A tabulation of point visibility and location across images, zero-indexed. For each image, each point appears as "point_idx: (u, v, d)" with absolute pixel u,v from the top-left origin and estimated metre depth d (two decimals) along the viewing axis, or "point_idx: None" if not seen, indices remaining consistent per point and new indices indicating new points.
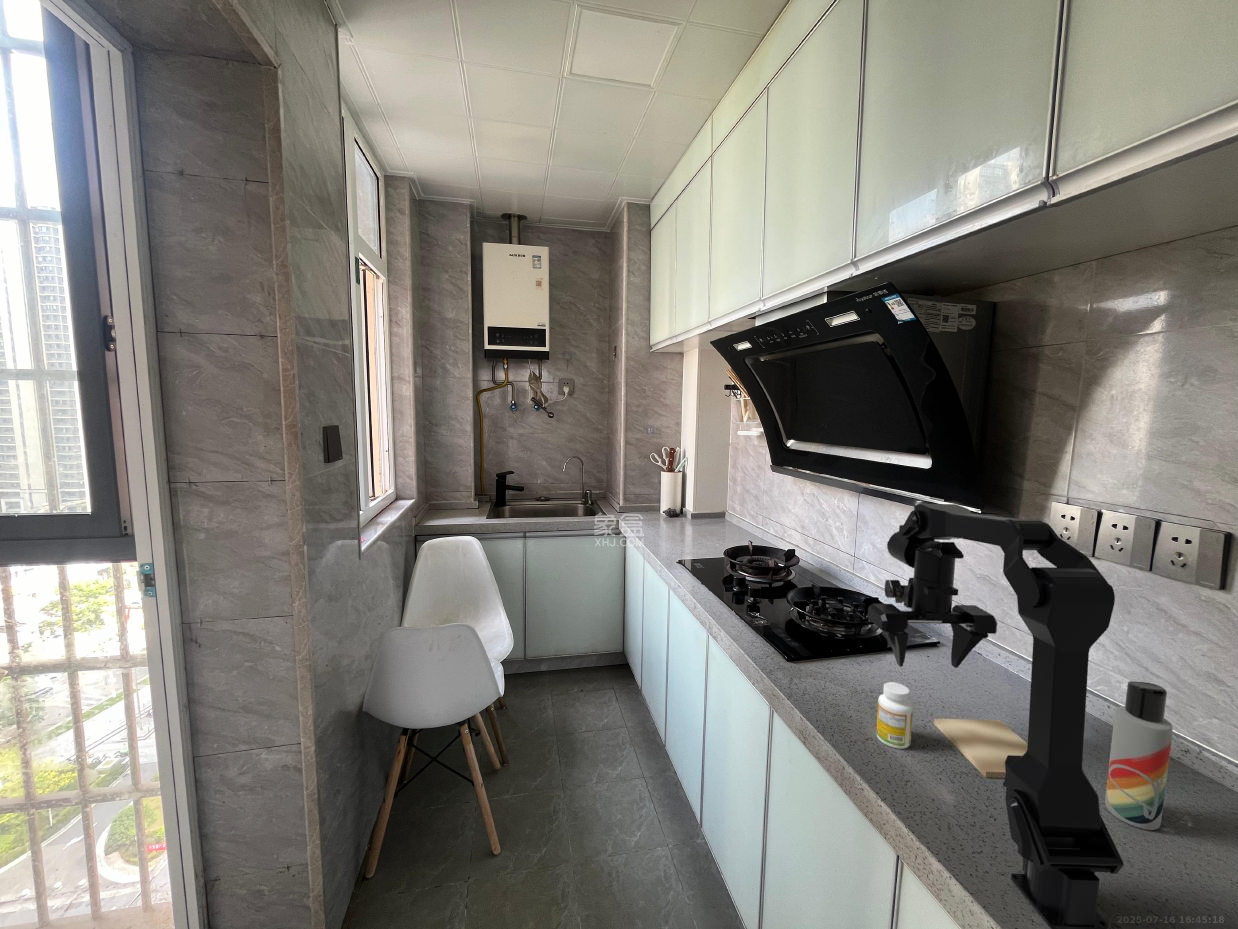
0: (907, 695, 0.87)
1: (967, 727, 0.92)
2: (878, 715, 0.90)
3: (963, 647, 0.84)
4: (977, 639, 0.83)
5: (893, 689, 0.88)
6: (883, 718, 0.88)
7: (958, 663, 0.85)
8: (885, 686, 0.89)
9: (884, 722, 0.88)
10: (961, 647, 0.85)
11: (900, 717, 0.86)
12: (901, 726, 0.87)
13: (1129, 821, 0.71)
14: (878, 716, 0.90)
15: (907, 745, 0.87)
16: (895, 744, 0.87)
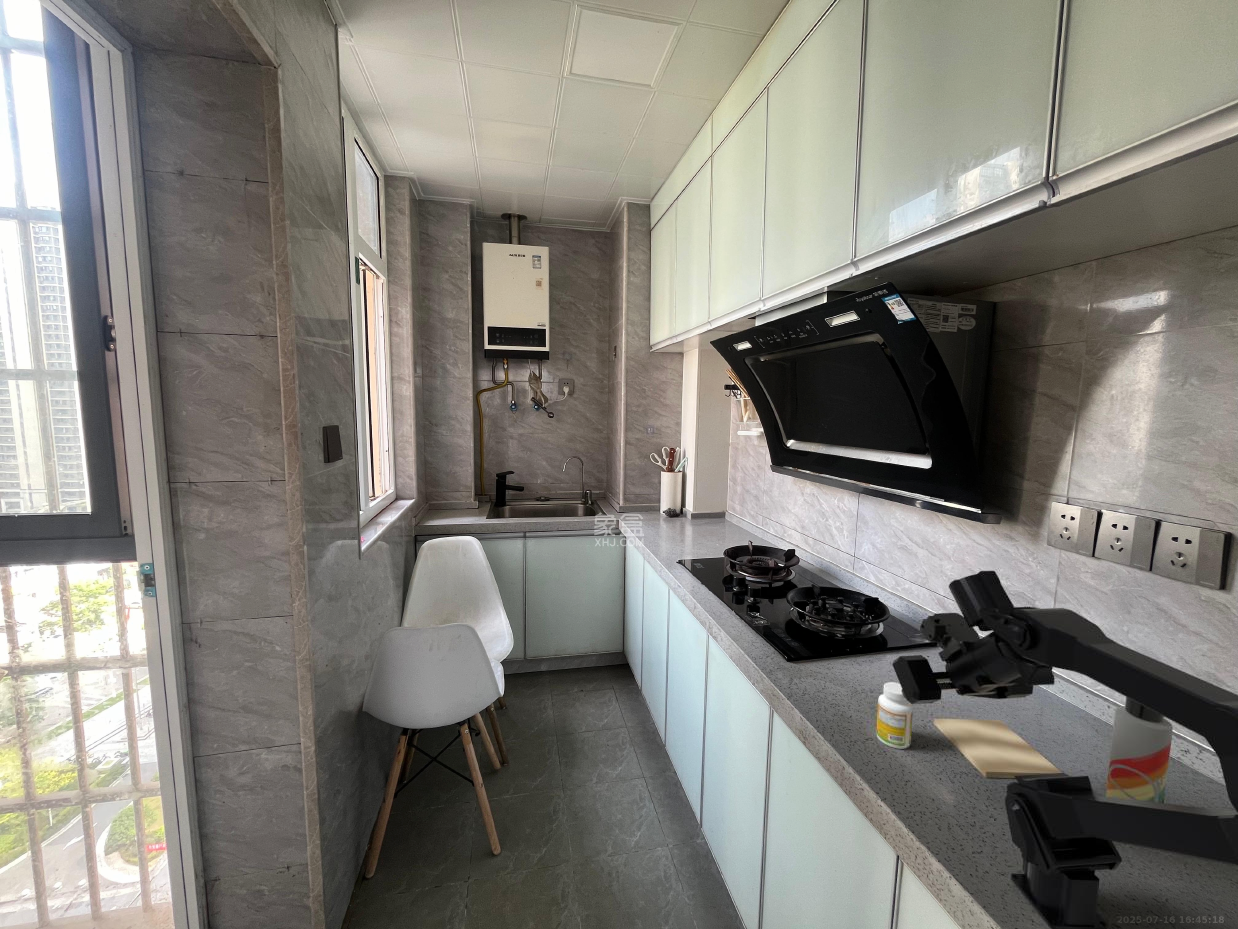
0: None
1: (967, 727, 0.92)
2: (878, 715, 0.90)
3: (980, 694, 0.77)
4: None
5: (893, 689, 0.88)
6: (883, 718, 0.88)
7: None
8: (885, 686, 0.89)
9: (884, 722, 0.88)
10: None
11: (900, 717, 0.86)
12: (901, 726, 0.87)
13: None
14: (878, 716, 0.90)
15: (907, 745, 0.87)
16: (895, 744, 0.87)
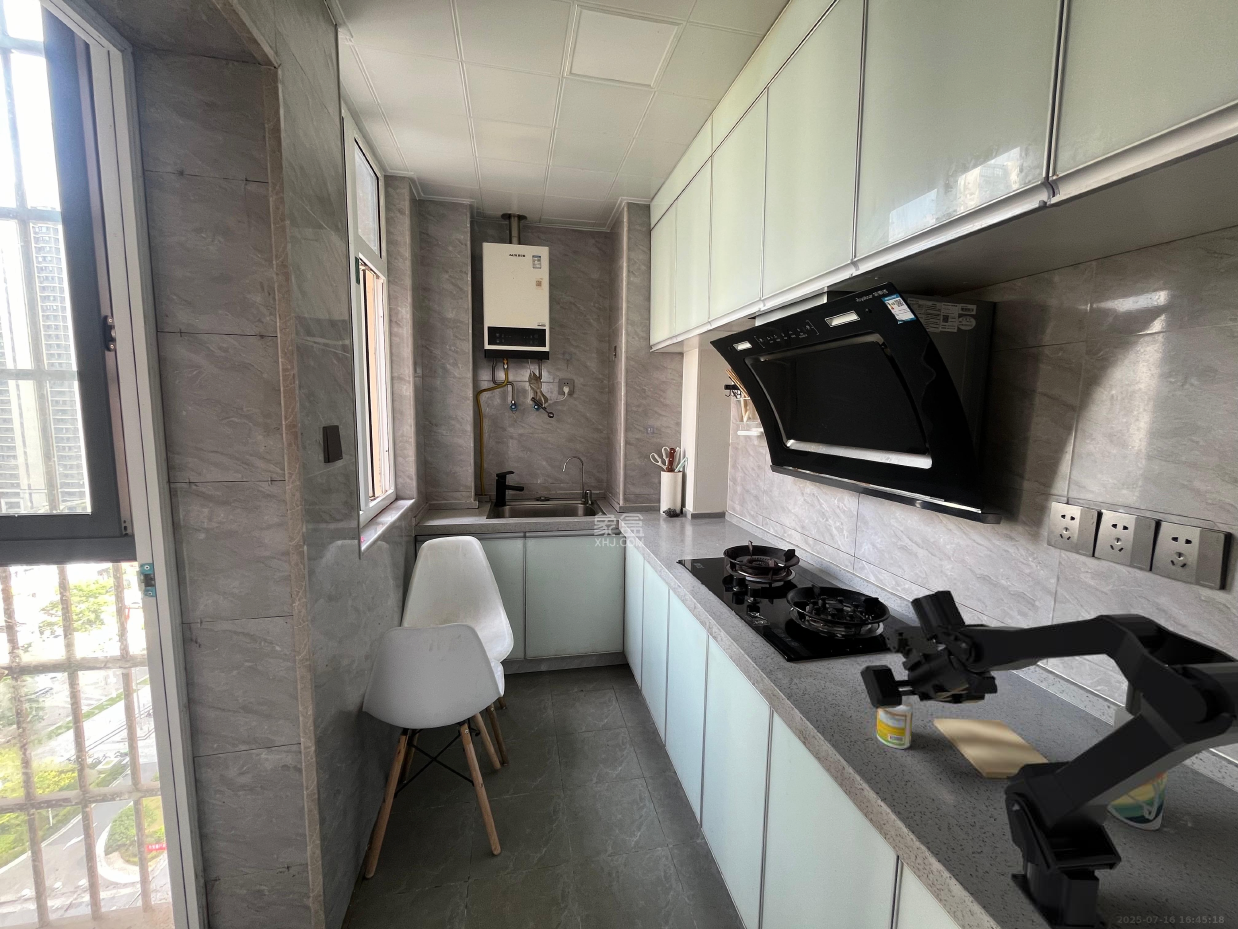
0: None
1: (967, 727, 0.92)
2: (878, 715, 0.90)
3: (939, 699, 0.85)
4: None
5: None
6: (883, 718, 0.88)
7: None
8: None
9: (884, 722, 0.88)
10: None
11: (900, 717, 0.86)
12: (901, 726, 0.87)
13: (1129, 821, 0.71)
14: (878, 716, 0.90)
15: (907, 745, 0.87)
16: (895, 744, 0.87)
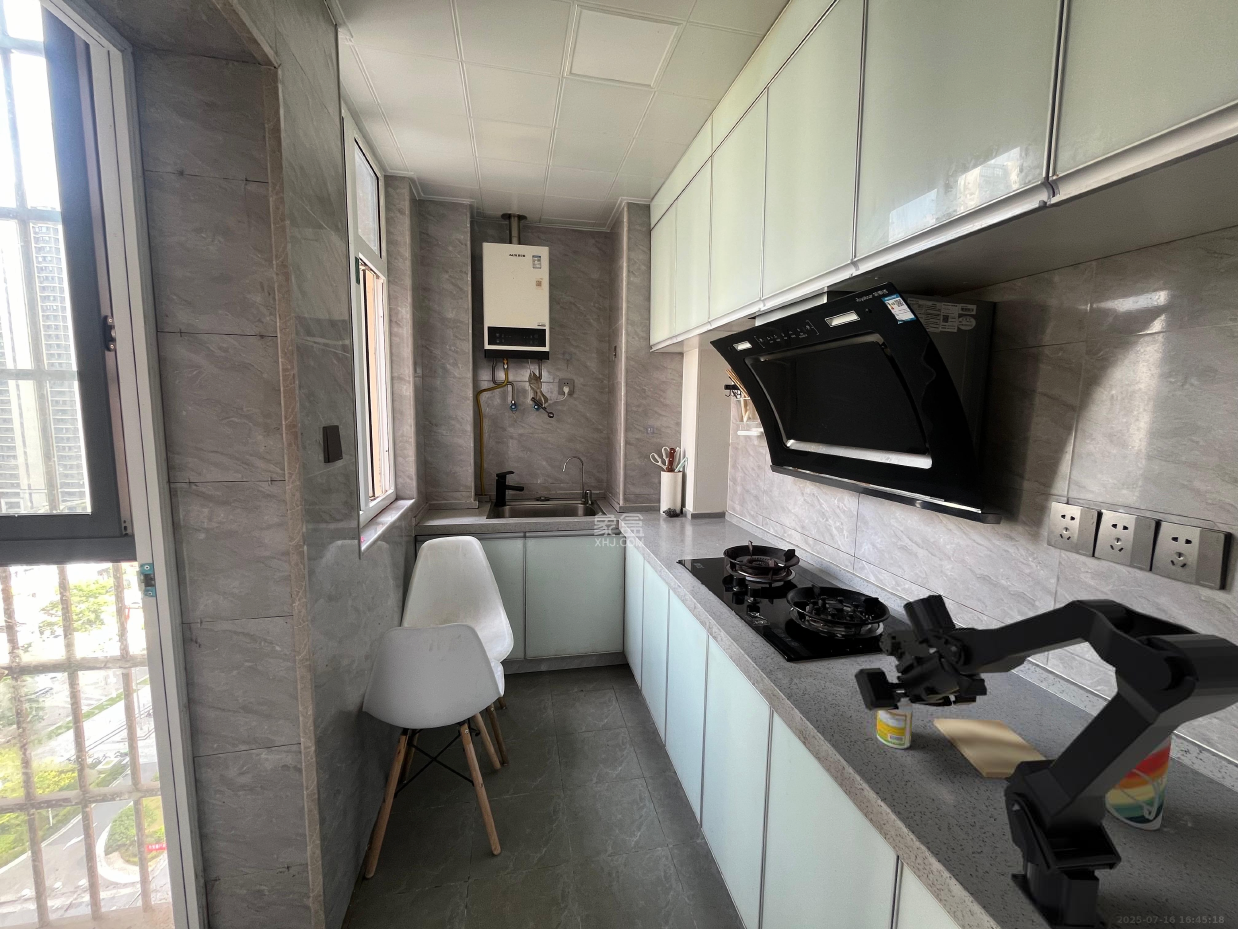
0: None
1: (967, 727, 0.92)
2: (878, 715, 0.90)
3: (922, 702, 0.86)
4: None
5: None
6: (883, 718, 0.88)
7: None
8: None
9: (884, 722, 0.88)
10: None
11: (900, 716, 0.86)
12: (901, 726, 0.87)
13: (1129, 821, 0.71)
14: (878, 716, 0.90)
15: (907, 745, 0.87)
16: (895, 744, 0.87)
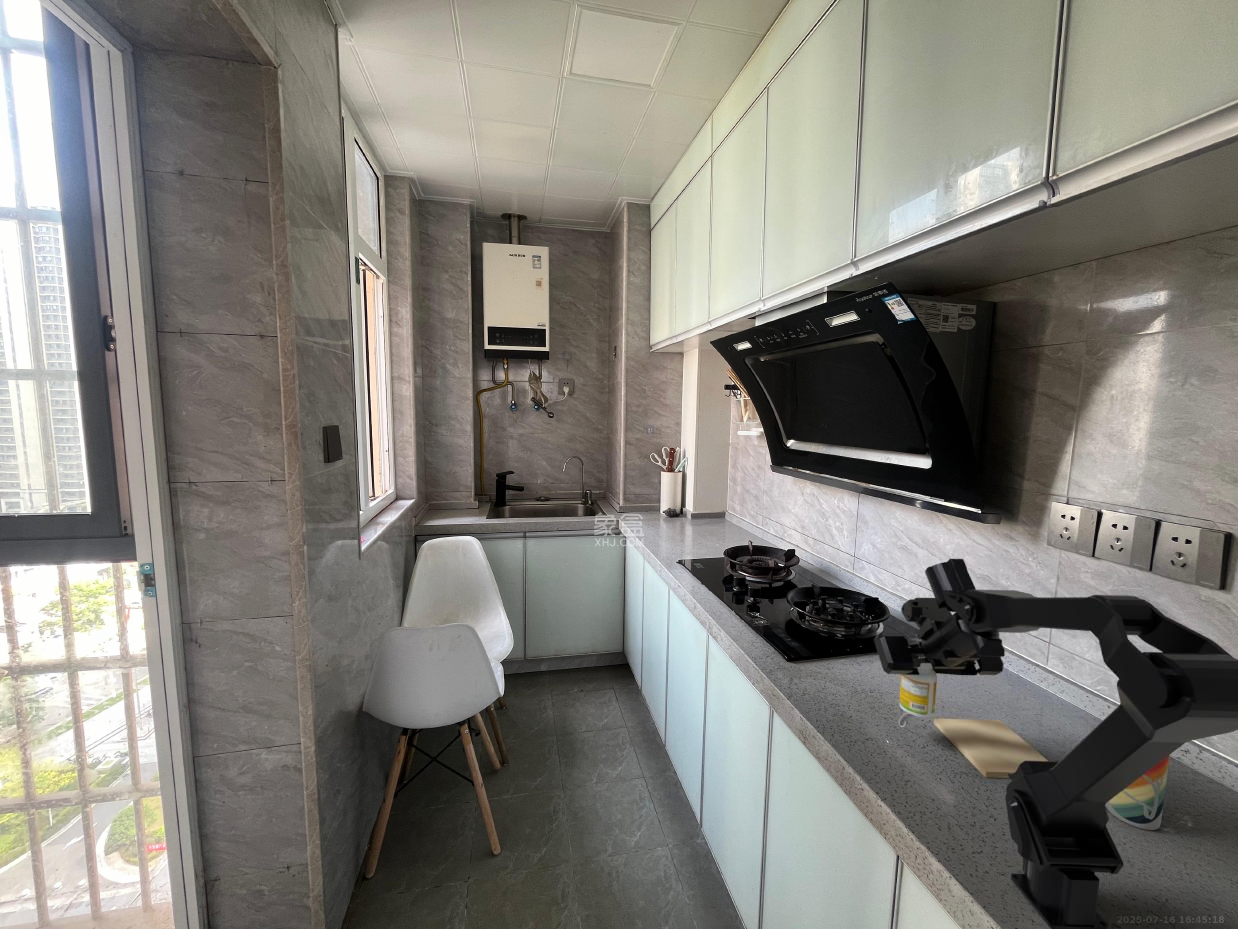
0: (930, 664, 0.86)
1: (967, 727, 0.92)
2: (901, 684, 0.89)
3: (947, 671, 0.86)
4: None
5: None
6: (905, 686, 0.88)
7: None
8: None
9: (906, 690, 0.88)
10: (945, 669, 0.86)
11: (922, 685, 0.86)
12: (924, 694, 0.86)
13: (1129, 821, 0.71)
14: (901, 685, 0.89)
15: (930, 715, 0.87)
16: (917, 713, 0.87)
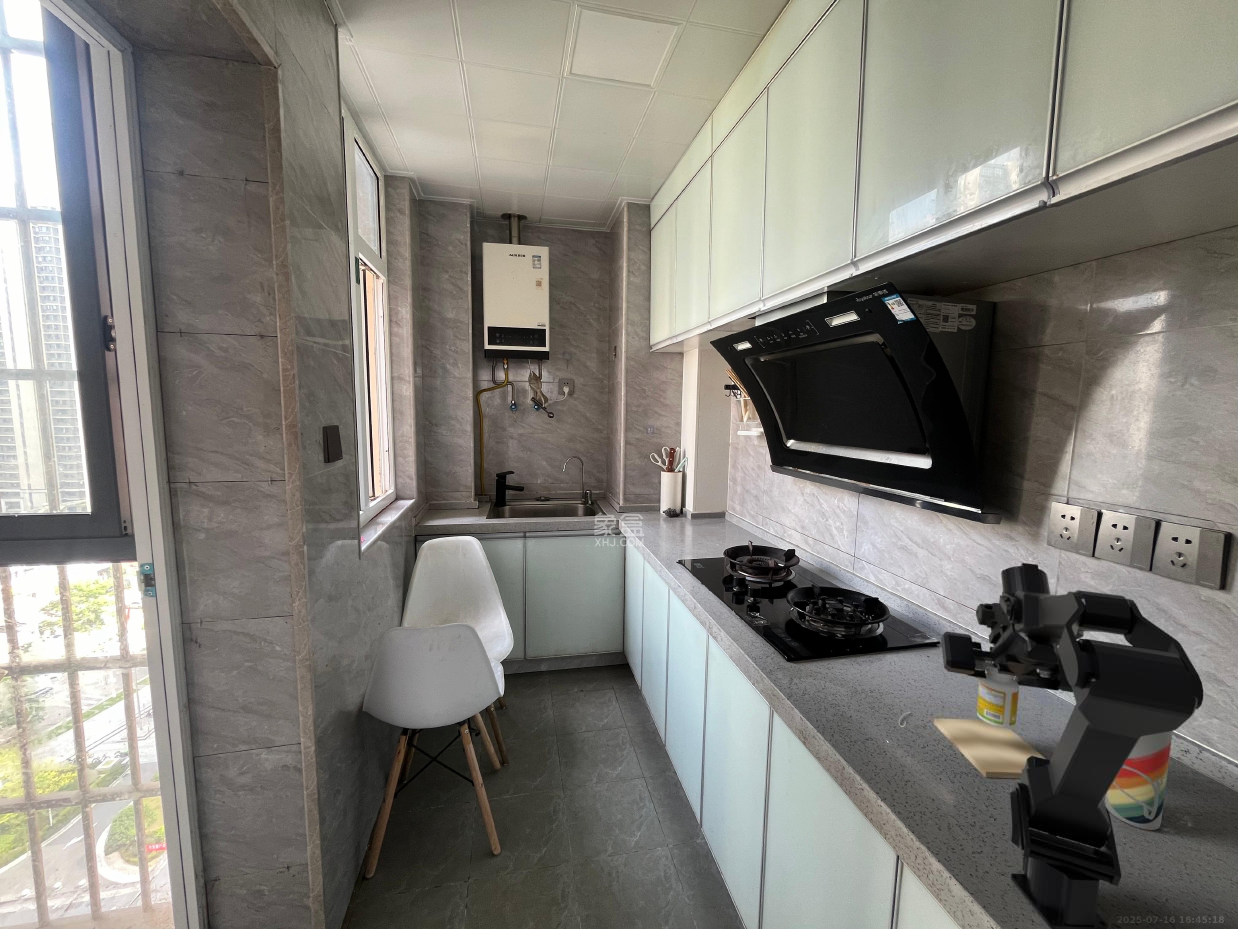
0: None
1: (967, 727, 0.92)
2: None
3: (1027, 683, 0.82)
4: (1044, 688, 0.79)
5: None
6: (981, 692, 0.86)
7: None
8: None
9: (981, 697, 0.86)
10: (1026, 681, 0.82)
11: (997, 693, 0.84)
12: (999, 703, 0.84)
13: (1129, 821, 0.71)
14: None
15: (1007, 726, 0.84)
16: (991, 721, 0.85)
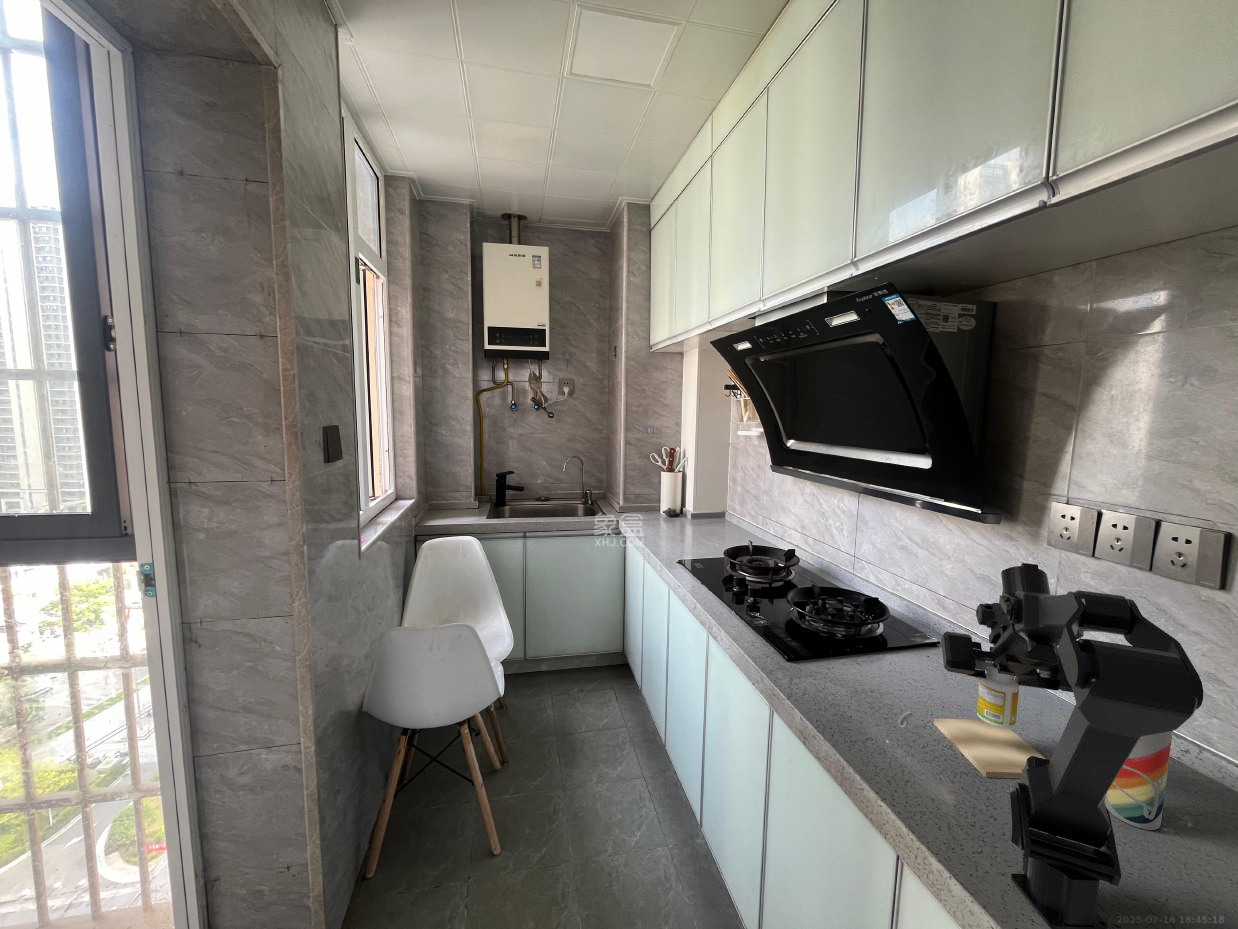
0: None
1: (967, 727, 0.92)
2: None
3: (1027, 683, 0.82)
4: (1044, 688, 0.79)
5: None
6: (981, 692, 0.86)
7: None
8: None
9: (981, 697, 0.86)
10: (1026, 681, 0.82)
11: (997, 693, 0.84)
12: (999, 703, 0.84)
13: (1129, 821, 0.71)
14: None
15: (1007, 726, 0.84)
16: (991, 721, 0.85)
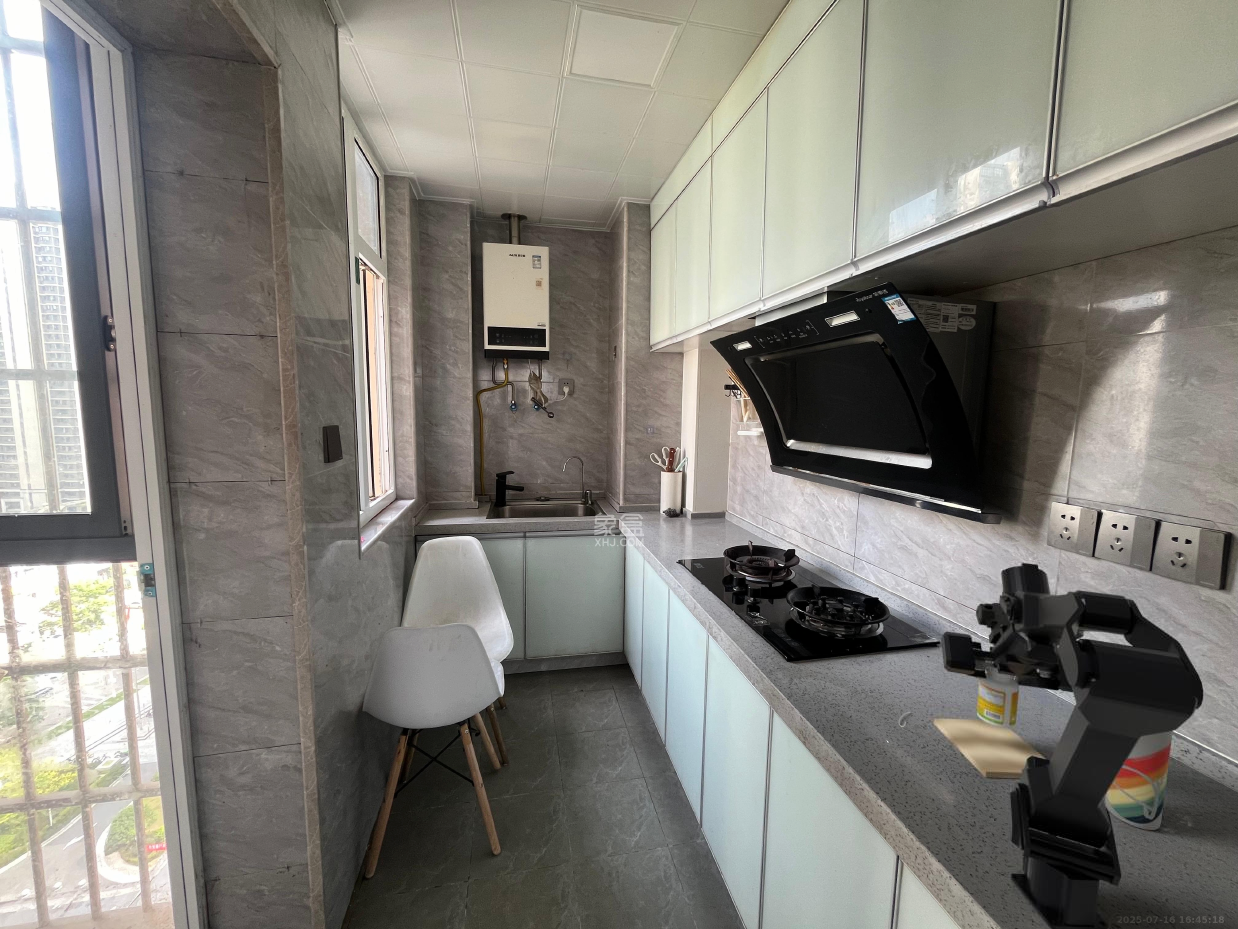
0: None
1: (967, 727, 0.92)
2: None
3: (1027, 683, 0.82)
4: (1044, 688, 0.79)
5: None
6: (981, 692, 0.86)
7: None
8: None
9: (981, 697, 0.86)
10: (1026, 681, 0.82)
11: (997, 693, 0.84)
12: (999, 703, 0.84)
13: (1129, 821, 0.71)
14: None
15: (1007, 726, 0.84)
16: (991, 721, 0.85)
